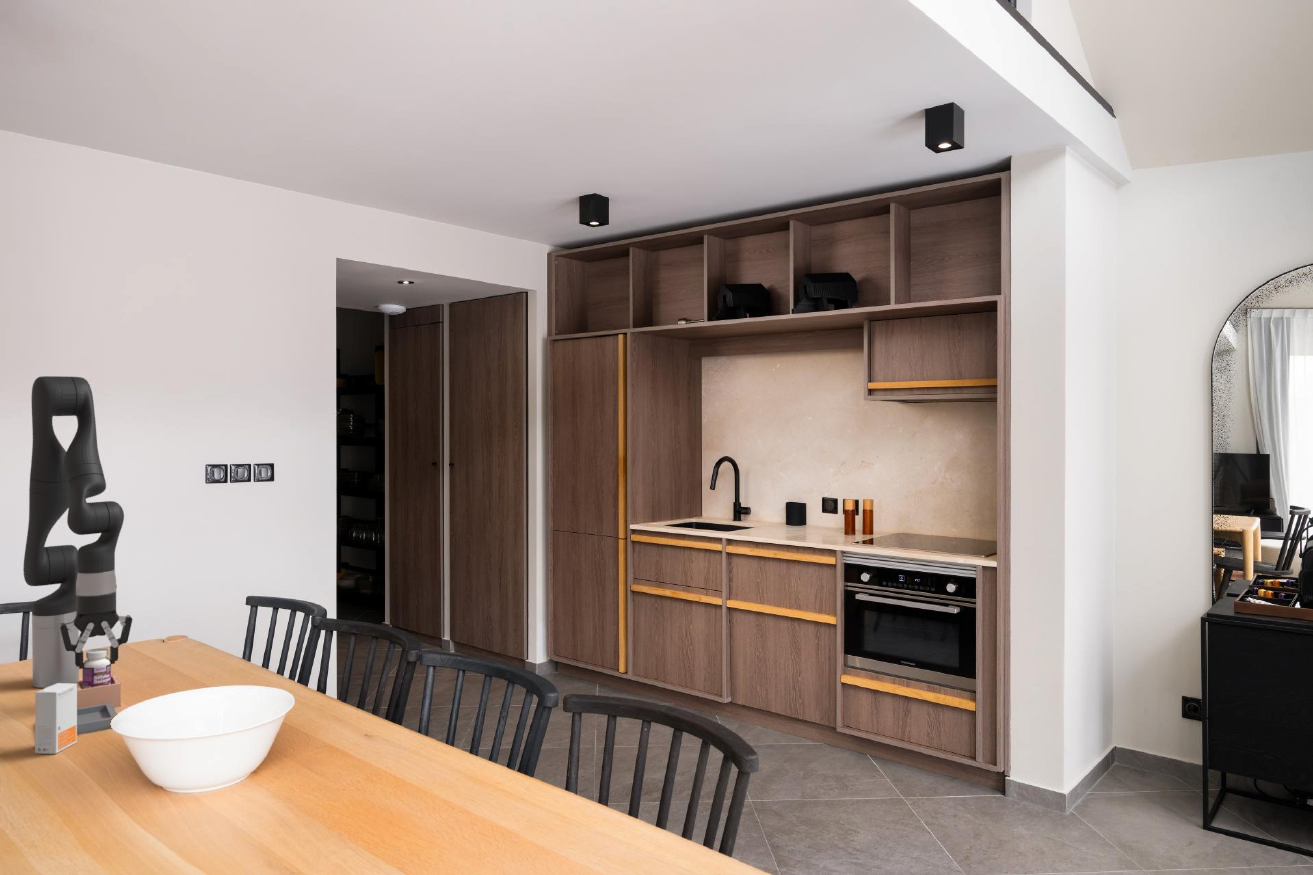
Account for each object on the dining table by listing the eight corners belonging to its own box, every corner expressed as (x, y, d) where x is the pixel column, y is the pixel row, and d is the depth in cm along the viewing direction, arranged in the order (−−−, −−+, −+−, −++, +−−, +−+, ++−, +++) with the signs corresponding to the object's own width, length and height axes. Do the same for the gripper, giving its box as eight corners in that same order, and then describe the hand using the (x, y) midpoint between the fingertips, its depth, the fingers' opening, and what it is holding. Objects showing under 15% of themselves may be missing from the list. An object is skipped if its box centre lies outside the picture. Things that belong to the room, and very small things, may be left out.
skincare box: (56, 754, 164) (55, 692, 164) (34, 754, 164) (33, 692, 164) (78, 742, 170) (78, 682, 170) (57, 742, 170) (56, 682, 170)
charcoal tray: (44, 723, 180) (44, 713, 180) (111, 711, 188) (111, 702, 188) (48, 740, 171) (48, 730, 171) (118, 726, 179) (118, 717, 179)
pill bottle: (96, 697, 189) (96, 654, 189) (76, 695, 190) (76, 652, 190) (116, 690, 195) (116, 648, 194) (96, 688, 196) (96, 646, 195)
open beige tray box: (73, 703, 193) (73, 681, 193) (115, 696, 198) (115, 675, 198) (77, 713, 187) (76, 690, 186) (120, 705, 192) (120, 683, 191)
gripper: (131, 584, 199) (131, 656, 200) (55, 591, 190) (56, 667, 191) (136, 589, 193) (136, 664, 194) (58, 597, 184) (59, 675, 185)
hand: (96, 665), depth 192 cm, fingers closed on pill bottle, 5 cm apart
